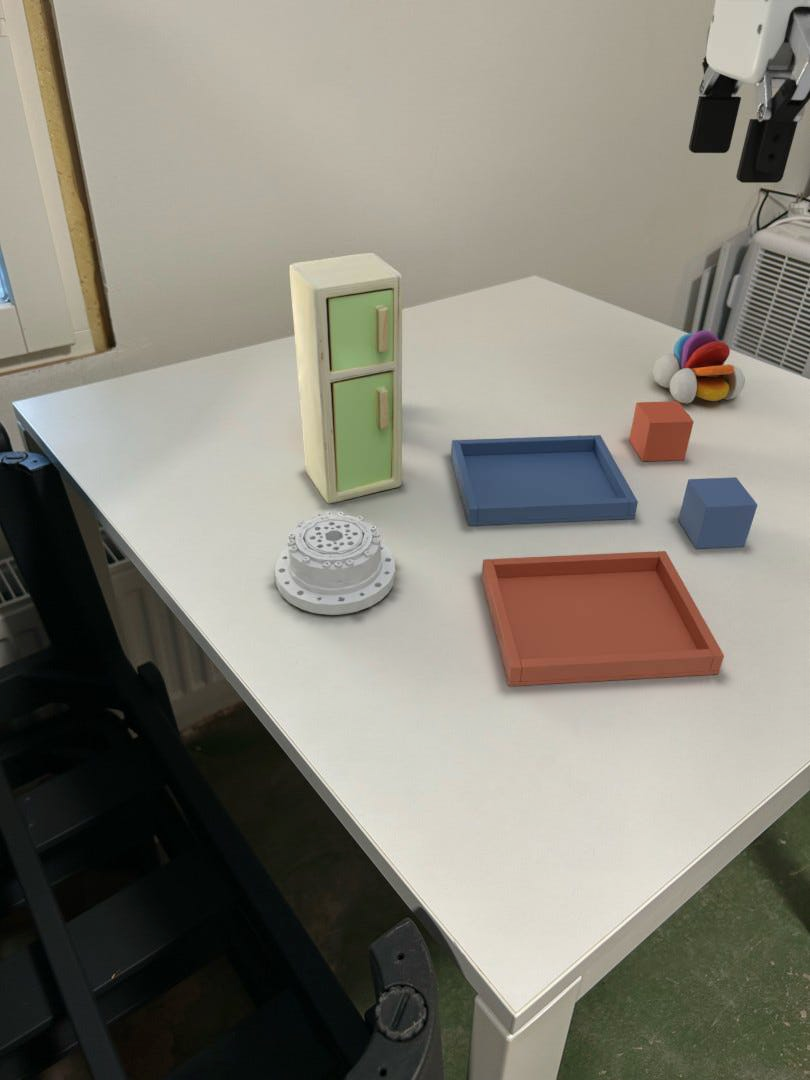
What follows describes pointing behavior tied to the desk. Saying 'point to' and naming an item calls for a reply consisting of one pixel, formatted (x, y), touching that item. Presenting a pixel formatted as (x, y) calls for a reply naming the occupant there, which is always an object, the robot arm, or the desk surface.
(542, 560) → the terracotta tray
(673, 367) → the rainbow petal toy
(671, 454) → the terracotta block
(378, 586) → the mechanical component
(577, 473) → the blue tray
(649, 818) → the desk surface
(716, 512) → the blue block
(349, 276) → the toy refrigerator
